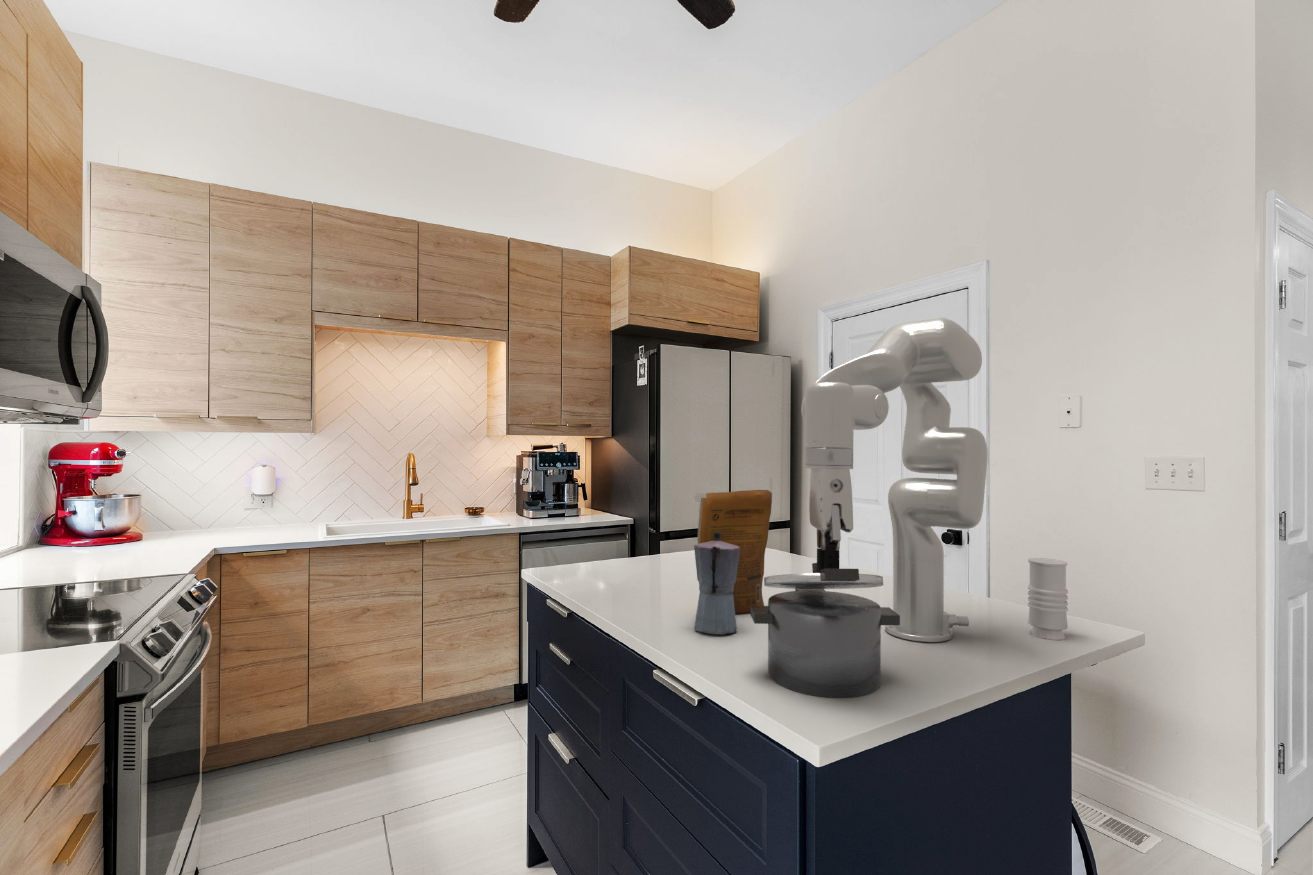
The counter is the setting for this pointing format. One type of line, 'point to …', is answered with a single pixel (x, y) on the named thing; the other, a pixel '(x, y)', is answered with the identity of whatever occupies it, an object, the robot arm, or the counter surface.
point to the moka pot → (716, 586)
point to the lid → (825, 579)
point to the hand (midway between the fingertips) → (827, 574)
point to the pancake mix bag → (740, 537)
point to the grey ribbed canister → (1047, 598)
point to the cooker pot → (824, 641)
